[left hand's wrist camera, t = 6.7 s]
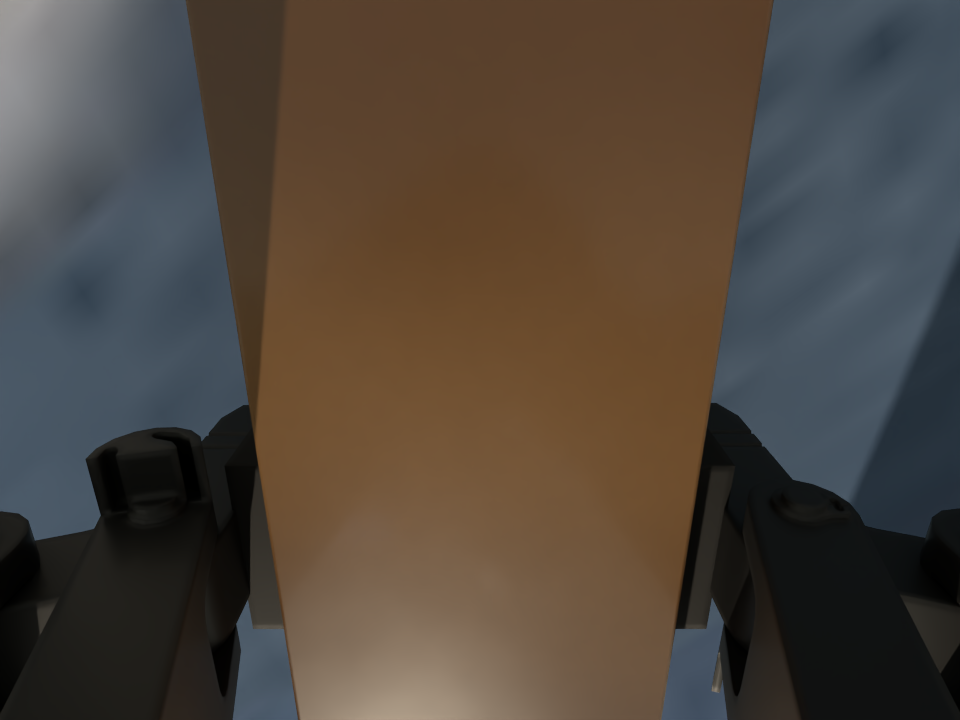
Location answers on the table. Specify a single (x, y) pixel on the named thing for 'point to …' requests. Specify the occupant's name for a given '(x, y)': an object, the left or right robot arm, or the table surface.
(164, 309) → the table surface
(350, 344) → the bar
